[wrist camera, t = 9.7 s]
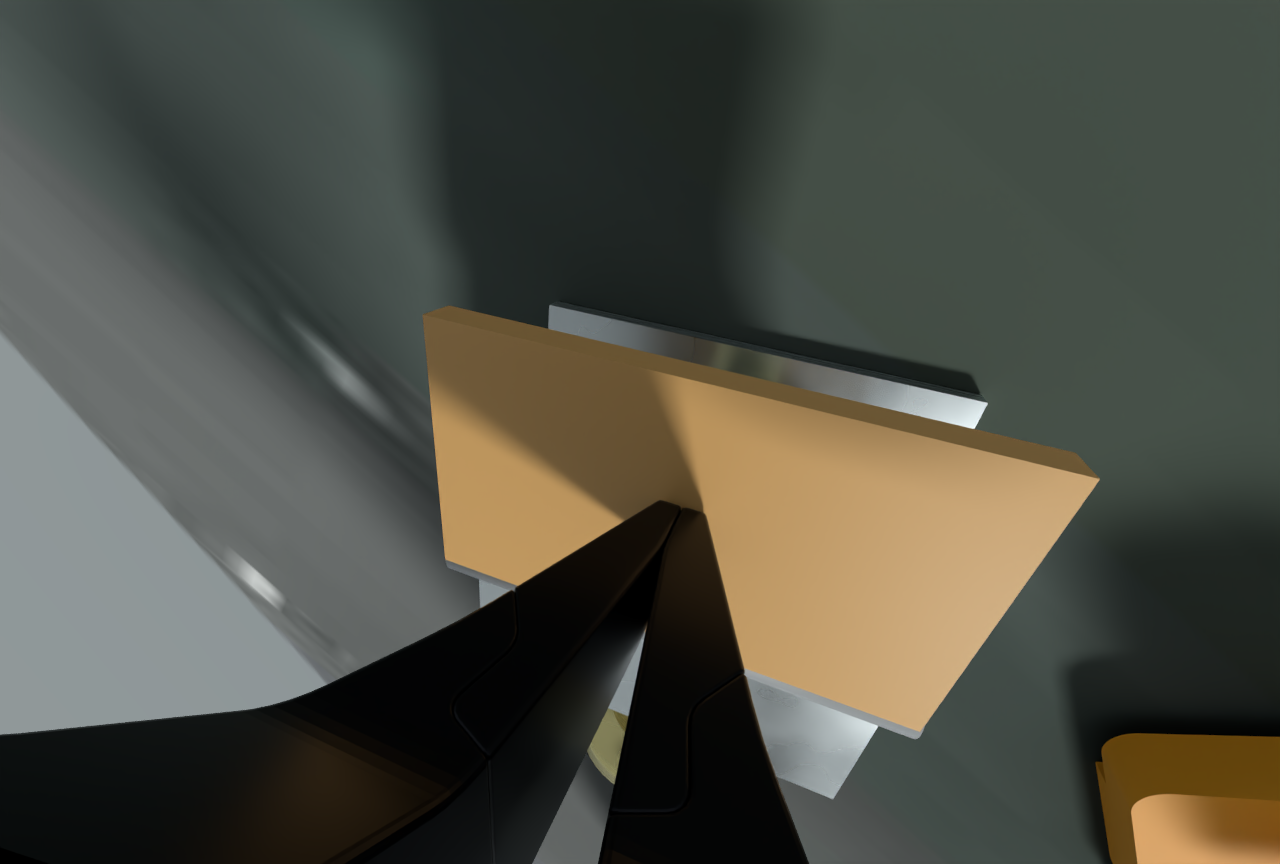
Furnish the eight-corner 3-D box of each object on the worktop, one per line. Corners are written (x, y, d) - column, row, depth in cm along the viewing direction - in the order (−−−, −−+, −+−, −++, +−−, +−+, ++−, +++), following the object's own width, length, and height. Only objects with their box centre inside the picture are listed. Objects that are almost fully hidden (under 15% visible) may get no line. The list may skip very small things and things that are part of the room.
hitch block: (858, 635, 19) (877, 848, 13) (546, 531, 21) (441, 665, 15) (981, 394, 14) (1105, 555, 8) (557, 300, 16) (410, 366, 11)
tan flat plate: (904, 706, 10) (912, 761, 9) (469, 552, 12) (440, 583, 12) (1077, 442, 7) (1119, 483, 6) (454, 297, 9) (412, 312, 8)
